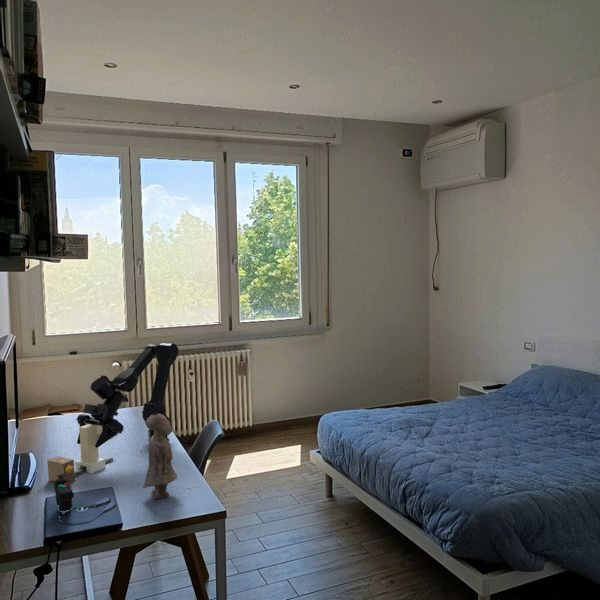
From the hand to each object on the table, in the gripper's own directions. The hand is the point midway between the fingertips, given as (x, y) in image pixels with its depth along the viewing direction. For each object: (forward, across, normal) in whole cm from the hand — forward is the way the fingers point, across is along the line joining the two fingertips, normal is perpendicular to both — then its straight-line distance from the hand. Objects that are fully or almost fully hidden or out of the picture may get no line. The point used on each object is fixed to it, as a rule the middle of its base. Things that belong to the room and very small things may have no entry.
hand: (87, 445), depth 191 cm
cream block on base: (+5, 0, +7) cm, 9 cm away
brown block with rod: (+7, 0, +5) cm, 9 cm away
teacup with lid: (-17, -31, +30) cm, 46 cm away
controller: (+25, +22, -12) cm, 35 cm away
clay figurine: (+10, +39, +2) cm, 40 cm away
